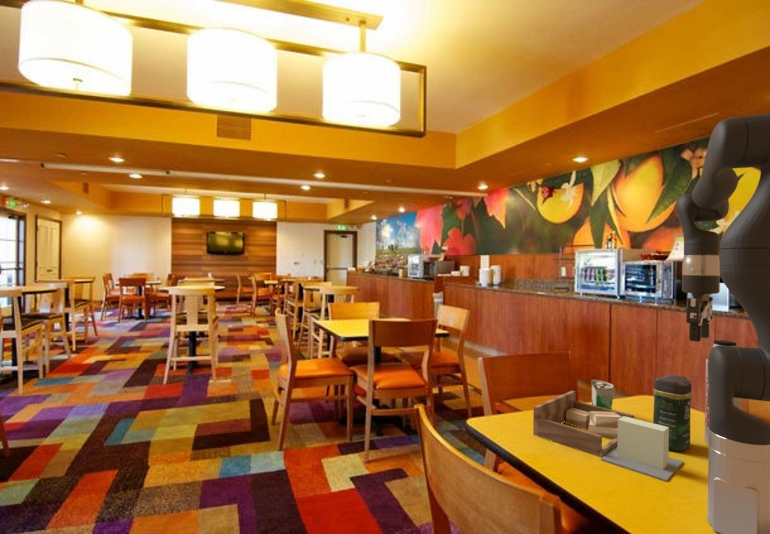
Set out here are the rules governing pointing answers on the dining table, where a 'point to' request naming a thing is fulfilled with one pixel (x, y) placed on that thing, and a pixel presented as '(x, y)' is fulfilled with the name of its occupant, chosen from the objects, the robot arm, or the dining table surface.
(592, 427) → the offcut
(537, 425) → the tray
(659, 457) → the block
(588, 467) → the dining table surface
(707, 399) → the thermos bottle
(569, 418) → the offcut
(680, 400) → the coffee jar
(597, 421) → the offcut
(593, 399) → the food container
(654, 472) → the mat
